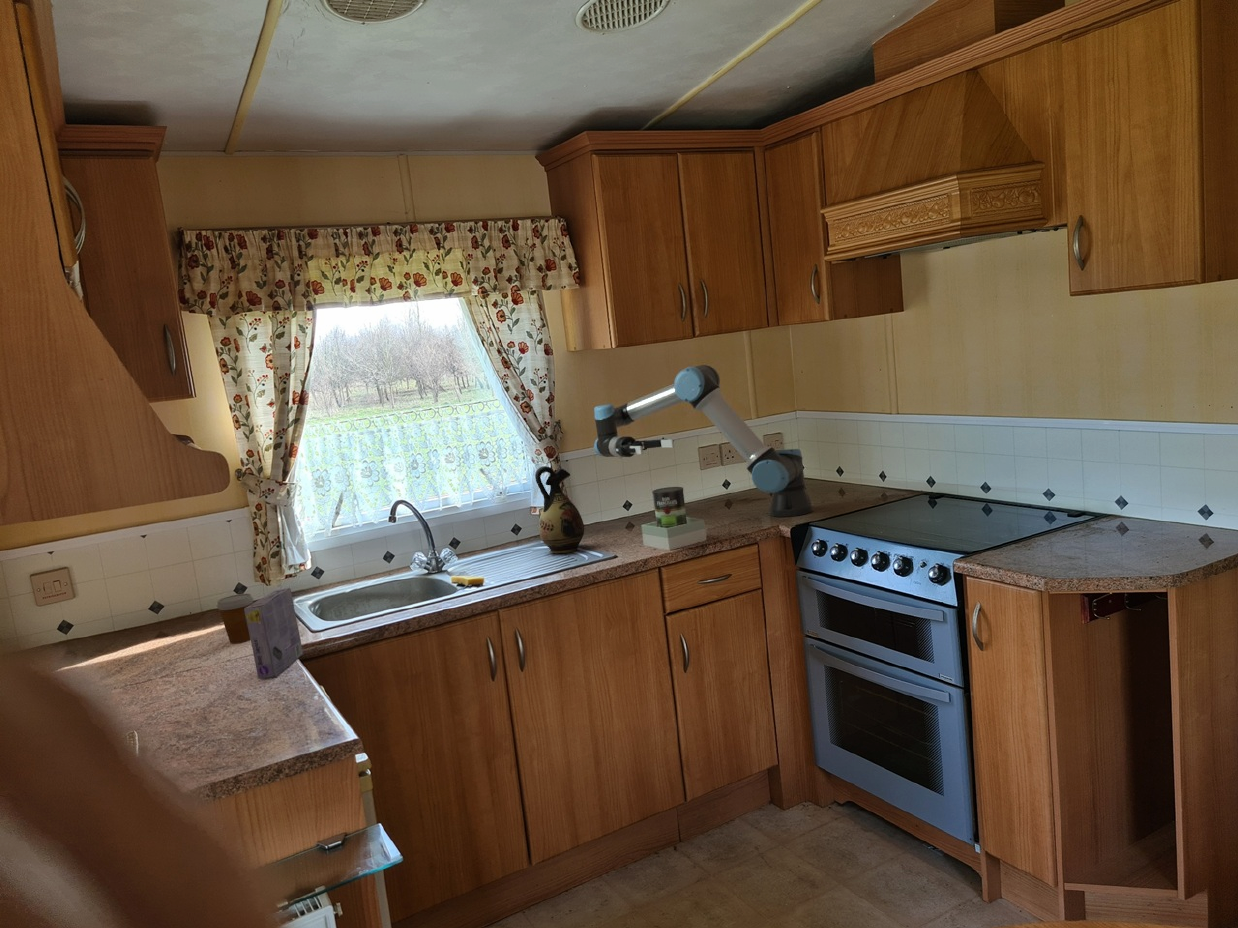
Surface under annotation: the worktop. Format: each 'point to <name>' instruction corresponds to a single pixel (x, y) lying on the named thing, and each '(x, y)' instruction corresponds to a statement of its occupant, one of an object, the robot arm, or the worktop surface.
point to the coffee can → (669, 507)
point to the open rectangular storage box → (674, 534)
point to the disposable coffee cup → (235, 616)
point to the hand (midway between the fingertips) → (657, 446)
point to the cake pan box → (273, 633)
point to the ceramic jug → (558, 514)
